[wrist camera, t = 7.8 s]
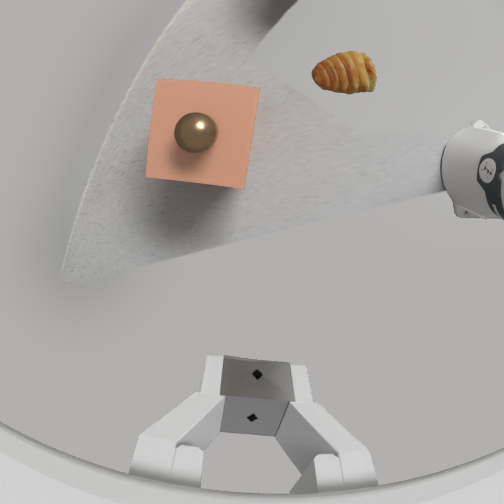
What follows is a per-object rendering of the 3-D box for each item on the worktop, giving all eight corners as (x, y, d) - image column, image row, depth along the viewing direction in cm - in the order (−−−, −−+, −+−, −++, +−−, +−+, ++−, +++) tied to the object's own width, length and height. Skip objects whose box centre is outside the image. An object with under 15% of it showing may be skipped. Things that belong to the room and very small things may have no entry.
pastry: (317, 100, 40) (322, 97, 37) (305, 58, 38) (310, 52, 34) (374, 91, 39) (384, 89, 36) (363, 51, 37) (372, 46, 33)
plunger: (247, 104, 35) (246, 94, 23) (238, 164, 38) (233, 181, 26) (186, 98, 35) (157, 86, 23) (179, 156, 38) (147, 171, 26)
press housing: (257, 101, 40) (260, 88, 26) (246, 167, 44) (244, 189, 29) (188, 94, 40) (156, 79, 25) (180, 159, 44) (145, 177, 29)
